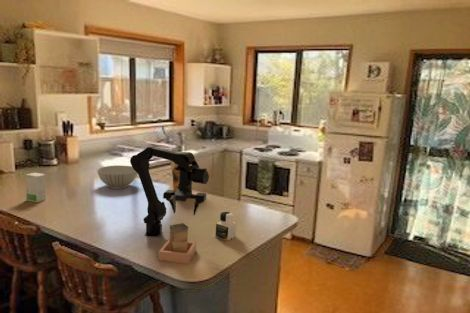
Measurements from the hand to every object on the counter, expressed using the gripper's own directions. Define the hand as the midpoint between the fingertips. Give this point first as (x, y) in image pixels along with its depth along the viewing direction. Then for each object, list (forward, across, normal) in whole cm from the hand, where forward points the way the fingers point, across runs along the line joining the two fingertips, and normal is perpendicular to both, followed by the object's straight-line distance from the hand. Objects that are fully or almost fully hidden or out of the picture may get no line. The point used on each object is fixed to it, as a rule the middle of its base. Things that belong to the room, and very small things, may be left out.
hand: (184, 214), depth 164 cm
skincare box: (+13, -98, +32) cm, 104 cm away
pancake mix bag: (+13, -22, +69) cm, 73 cm away
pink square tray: (+13, +2, -15) cm, 20 cm away
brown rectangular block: (+12, +2, -15) cm, 20 cm away
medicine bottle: (+13, +18, +10) cm, 24 cm away
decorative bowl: (+13, -68, +74) cm, 101 cm away
